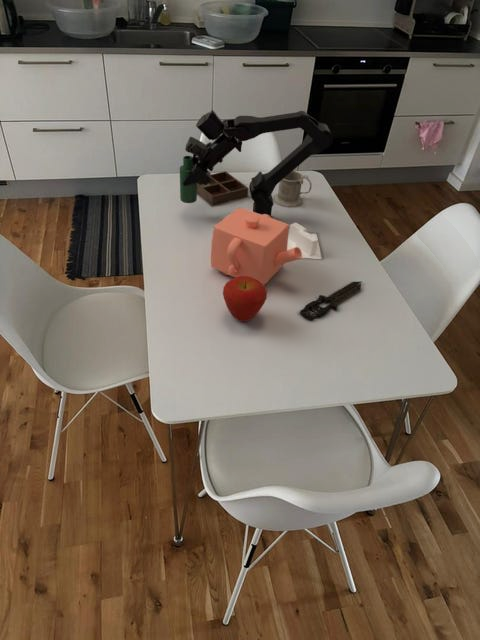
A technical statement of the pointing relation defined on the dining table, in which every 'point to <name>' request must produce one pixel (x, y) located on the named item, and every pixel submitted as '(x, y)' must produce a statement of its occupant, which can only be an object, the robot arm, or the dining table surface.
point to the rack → (222, 189)
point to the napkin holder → (303, 242)
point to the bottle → (184, 180)
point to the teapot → (251, 245)
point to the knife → (326, 299)
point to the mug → (291, 189)
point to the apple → (244, 297)
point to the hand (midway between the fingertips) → (184, 180)
